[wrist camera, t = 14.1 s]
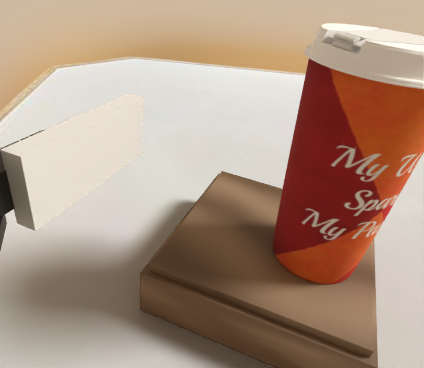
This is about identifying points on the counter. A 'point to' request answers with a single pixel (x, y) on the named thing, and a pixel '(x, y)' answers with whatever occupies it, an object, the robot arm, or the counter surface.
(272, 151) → the counter surface
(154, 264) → the walnut plinth
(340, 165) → the paper cup
